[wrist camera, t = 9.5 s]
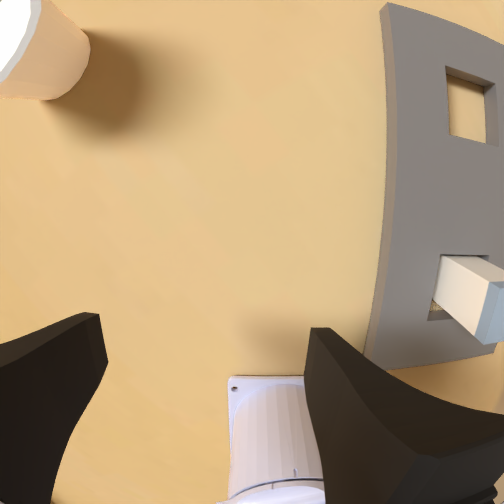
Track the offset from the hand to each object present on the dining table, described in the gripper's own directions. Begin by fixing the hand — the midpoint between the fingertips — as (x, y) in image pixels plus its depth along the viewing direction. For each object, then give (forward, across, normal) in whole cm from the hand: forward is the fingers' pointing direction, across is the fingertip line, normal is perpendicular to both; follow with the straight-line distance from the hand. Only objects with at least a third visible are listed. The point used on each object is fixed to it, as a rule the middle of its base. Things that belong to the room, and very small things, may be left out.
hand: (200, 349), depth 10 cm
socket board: (+9, -15, -5) cm, 19 cm away
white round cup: (+10, +12, -14) cm, 21 cm away
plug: (+9, -16, 0) cm, 18 cm away
